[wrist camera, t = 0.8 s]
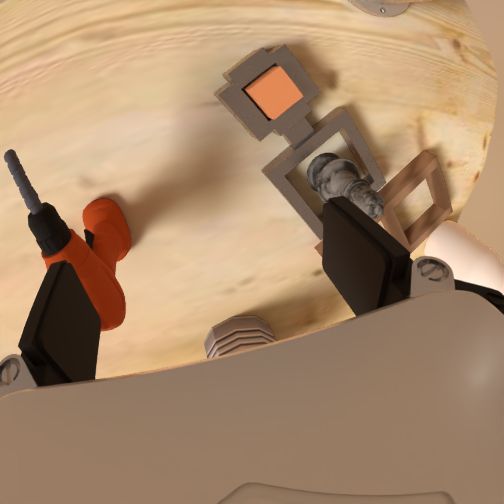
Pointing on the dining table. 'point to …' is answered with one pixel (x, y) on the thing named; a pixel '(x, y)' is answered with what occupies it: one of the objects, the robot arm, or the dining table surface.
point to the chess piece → (343, 183)
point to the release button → (273, 92)
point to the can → (237, 335)
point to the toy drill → (81, 245)
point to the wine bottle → (466, 256)
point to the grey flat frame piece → (292, 125)
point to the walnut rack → (401, 187)
